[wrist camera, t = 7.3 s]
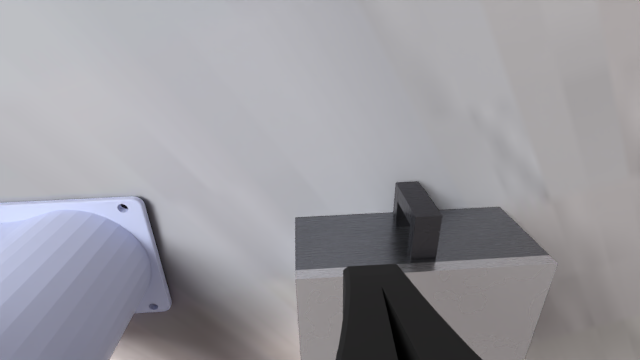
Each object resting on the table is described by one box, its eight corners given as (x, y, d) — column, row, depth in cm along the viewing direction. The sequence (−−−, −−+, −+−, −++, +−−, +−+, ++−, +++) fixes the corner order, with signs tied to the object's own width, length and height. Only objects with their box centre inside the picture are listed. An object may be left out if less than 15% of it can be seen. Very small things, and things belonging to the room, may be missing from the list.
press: (304, 358, 25) (305, 435, 21) (293, 180, 19) (292, 234, 14) (466, 347, 26) (503, 419, 21) (508, 169, 20) (573, 219, 15)
